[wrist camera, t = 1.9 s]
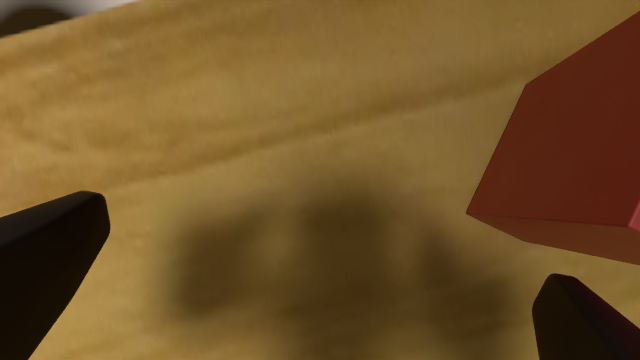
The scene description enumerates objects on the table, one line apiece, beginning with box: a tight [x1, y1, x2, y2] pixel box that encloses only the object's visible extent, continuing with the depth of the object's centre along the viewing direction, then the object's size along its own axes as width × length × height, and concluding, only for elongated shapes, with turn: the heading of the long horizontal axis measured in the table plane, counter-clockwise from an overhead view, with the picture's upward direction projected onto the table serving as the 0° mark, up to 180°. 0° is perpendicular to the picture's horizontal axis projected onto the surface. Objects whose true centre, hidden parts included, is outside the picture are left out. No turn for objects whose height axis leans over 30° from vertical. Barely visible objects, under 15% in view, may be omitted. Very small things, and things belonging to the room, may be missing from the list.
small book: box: [466, 11, 640, 265], centre depth 16 cm, size 8×4×13 cm, turn 154°
